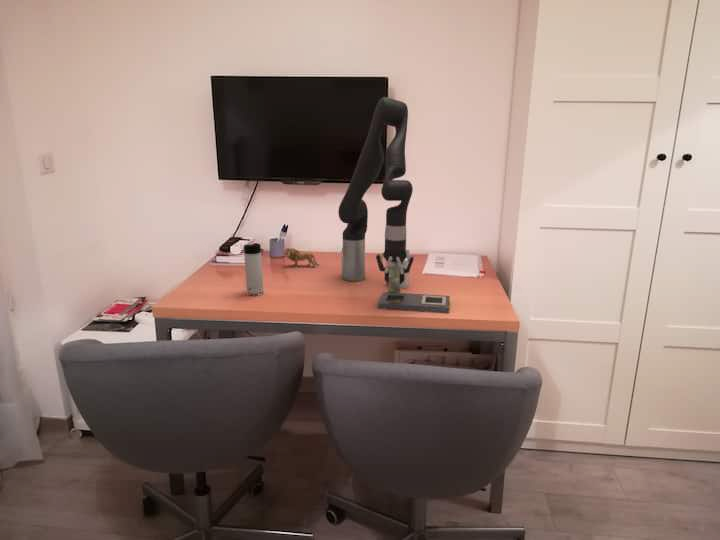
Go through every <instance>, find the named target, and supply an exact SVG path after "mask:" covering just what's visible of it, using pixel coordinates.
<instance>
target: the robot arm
mask: <svg viewBox="0 0 720 540" xmlns="http://www.w3.org/2000/svg"><path fill="white" fill-rule="evenodd" d="M407 105H408V104H406V103H405V102H404V101H400V100H397V99H394V98H390V97H387V96H383V97H380V99H379V100H378V101H377V104H376V107H375V109H374V113H373V117H372V119H371V123H370V127H369V129H368V134H367V137H366V138H365V139H366V140H365V142H364V145H363V147H362V150H361V152H360V154H359V158H358V160H357V163H356V166H355V169H354V172H353V174H352V177H351V179H350V182H349V184H348V188H347V190H346V192H345V194H344V196H343V198H342V199H341V201H340V204H339V207H338V217H339V220H340V221H341V222H342V223H343V224H347V226H346V227H345V229H344V230H343V231H342V256H341V279H342V280H345V281H349V282H359V281H363V280H365V279H366V233H367V230H368V218H369V217H368V215H369V210H368V206H367V203H366V201H364V199H363V197H364V195H366V192H367V191H368V190H369V188H371V186H372V185H373V184H374V183H375V181H376V179H377V178H378V176H379V175H380V171H381V170H382V167H383V164H384V163H385V175H384V179H383V182H382V187H381V191H380V192H381V197H382V198H383V199H384V200H385V201H388V202H389V201H390V202H391V201H393V202H400V203H399V204H398V205H394V206H390V207H388V208H387V209H386V213H385V228H384V229H385V230H384V251H383V253H378V254H376V258H375V259H376V262H377V263H376V264H377V266H378V269H379V271H380V272H383V273H384V281H385V284H386V283H388V276H389V267H390V262H397V263H398V266H399V269H400V272H401V274H400V284H402V282H404V276H405V273H409V274H410V270H411V267H412V265H413V262H414V259H415V256H414V255H410V254H409V255H407V253H406V250H407V213H408V207H409V203H410V200H411V198H412V196H413V195H412V194H413V190H414V189H413V184H412V183H411V181H410V180H408V179H407V180H406V179H399V178H401V177H403V176H405V175H406V172H407V166H406V152H405V151H406V139H407V133H408V132H407V131H408V130H407V129H408V122H409V121H408V119H409V110H408V106H407ZM384 125H386V126H390V127H394V128H395V129H394V130H395V134H394V137H393V139H392V140H391V142H390V143H389V145H388V146H387V148H386V151H385V155H384V150H383V149H384V148H383V146H382V140H381V135H382V129H383V126H384ZM383 258H384V260H385V261H386V266H384V262H383ZM406 258H407V261H408V262H409V263H408V266H407V268H406V269H404V265H403V261H404V260H405V259H406Z"/></svg>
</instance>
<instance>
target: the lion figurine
mask: <svg viewBox="0 0 720 540" xmlns="http://www.w3.org/2000/svg"><path fill="white" fill-rule="evenodd" d="M285 257H286V258H288V259H289V260H290V261H291V262H294V264H293V267H295V269H297V268H298V262H299V261H302V262H303V261H306V260H307V261H308V264H307V266H308V267H309V266H311V265H312V266H311V268H312V269H315V268H316V266H320V264H319V263H317V260H316V257H315V255H314V254H313V253H311V252H309V251H307V252H301V251H299V250H298V249H295V248H293V247H288V248H286V249H285ZM296 267H297V268H296Z"/></svg>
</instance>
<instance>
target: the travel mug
mask: <svg viewBox="0 0 720 540" xmlns="http://www.w3.org/2000/svg"><path fill="white" fill-rule="evenodd" d="M243 250H244V251H243V254H244V256H243V257H244V264H245V265H244V267H245V269H244V270H245V282H246V283H245V284H246V293H248V294H250V295H258V294H261V293H263V292H264V281H263V280H264V279H263V278H264V277H263V262H262V251H261V243H252V244H245V245H243ZM248 294H247V295H248ZM263 294H264V293H263ZM250 295H249V296H250Z"/></svg>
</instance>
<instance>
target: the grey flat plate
mask: <svg viewBox="0 0 720 540" xmlns="http://www.w3.org/2000/svg"><path fill="white" fill-rule="evenodd" d="M450 297H451V296H450V295H443V294H441V295H439V294H427V293H426V294H424V293H410V292H409V293H407V292H400V293H399V294H389V293H388V291H382V292H381V295H380V298H379V300H378V303H377V309H379V308H386V309H385V310H394V309H401V310H400V311H409V310H413V311H412V312H424V311H429V312H428V313H439V312H442V313H441V314H449V312H450ZM397 300H400V301H397ZM428 302H429V303H428Z"/></svg>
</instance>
